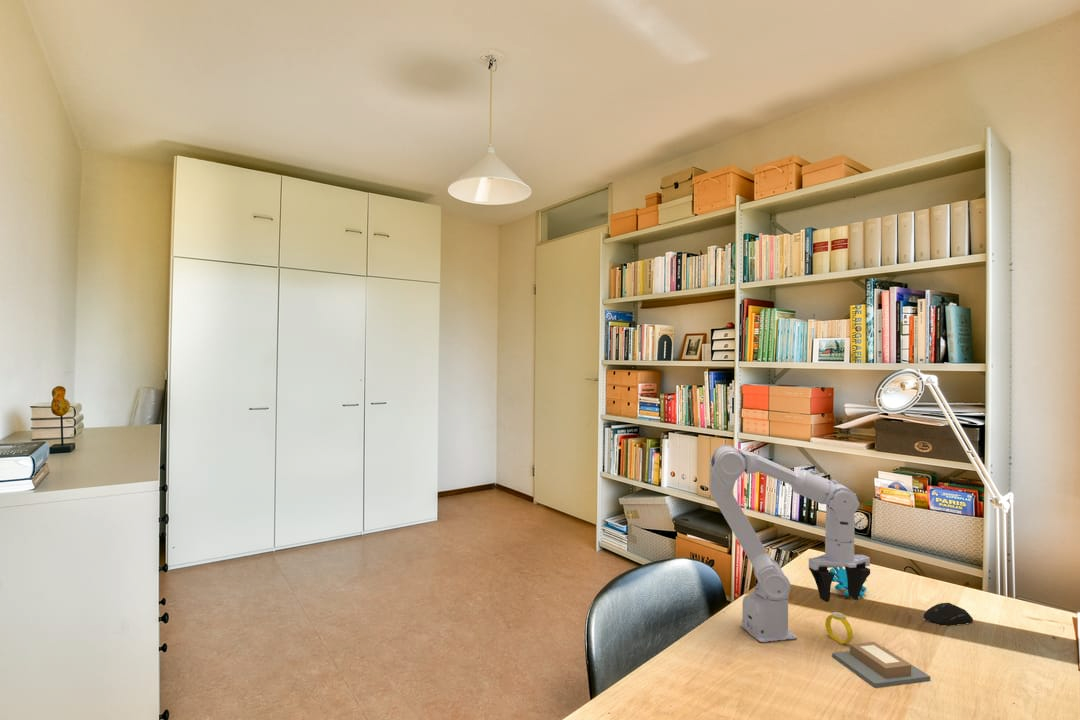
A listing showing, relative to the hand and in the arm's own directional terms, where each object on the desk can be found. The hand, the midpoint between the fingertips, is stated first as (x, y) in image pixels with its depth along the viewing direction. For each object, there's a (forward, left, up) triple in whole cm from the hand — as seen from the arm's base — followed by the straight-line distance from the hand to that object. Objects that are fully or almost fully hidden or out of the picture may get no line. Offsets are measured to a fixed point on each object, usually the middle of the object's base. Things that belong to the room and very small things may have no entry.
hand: (839, 598), depth 119 cm
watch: (0, 0, -10) cm, 10 cm away
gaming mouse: (+34, +4, -10) cm, 35 cm away
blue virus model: (+22, +21, -10) cm, 32 cm away
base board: (0, -11, -9) cm, 15 cm away
